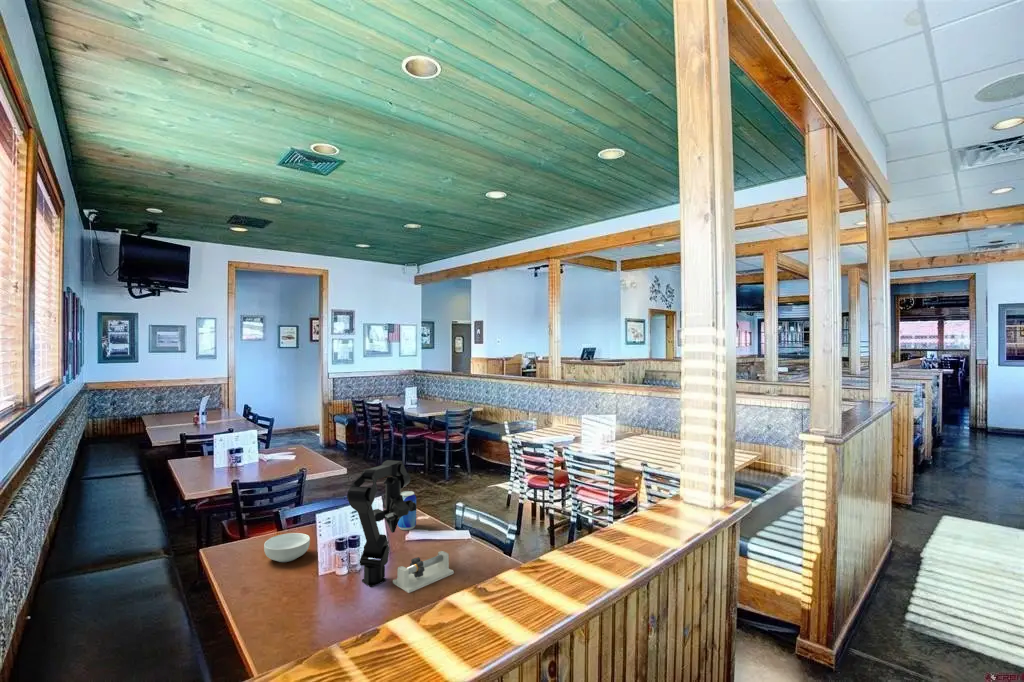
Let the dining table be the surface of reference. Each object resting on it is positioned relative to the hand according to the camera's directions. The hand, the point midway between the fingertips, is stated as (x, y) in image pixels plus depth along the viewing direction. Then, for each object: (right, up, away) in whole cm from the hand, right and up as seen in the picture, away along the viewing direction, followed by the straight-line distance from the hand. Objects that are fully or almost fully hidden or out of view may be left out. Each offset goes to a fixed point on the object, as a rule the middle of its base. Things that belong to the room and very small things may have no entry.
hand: (392, 532), depth 194 cm
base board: (+14, -12, -12) cm, 22 cm away
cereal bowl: (-43, -12, +4) cm, 45 cm away
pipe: (+14, -8, -12) cm, 21 cm away
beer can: (-2, -12, +37) cm, 39 cm away
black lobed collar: (+12, -11, -14) cm, 22 cm away
